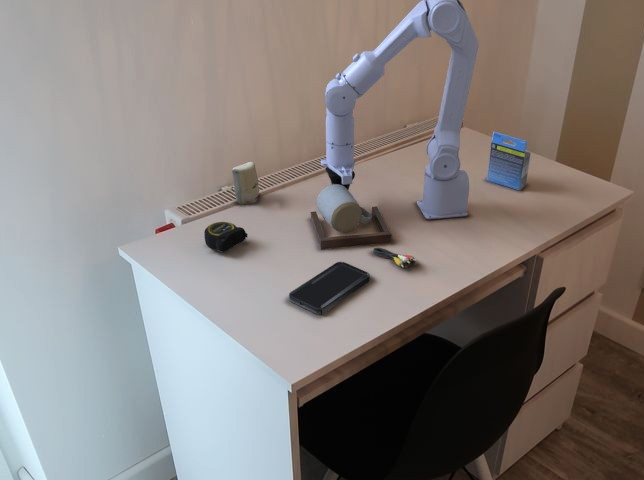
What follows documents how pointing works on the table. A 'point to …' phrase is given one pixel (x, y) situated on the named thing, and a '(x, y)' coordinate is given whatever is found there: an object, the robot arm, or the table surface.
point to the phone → (329, 287)
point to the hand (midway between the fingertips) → (340, 200)
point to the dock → (353, 240)
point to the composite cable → (396, 257)
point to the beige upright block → (246, 183)
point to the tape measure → (223, 236)
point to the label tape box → (508, 162)
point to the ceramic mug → (341, 208)
